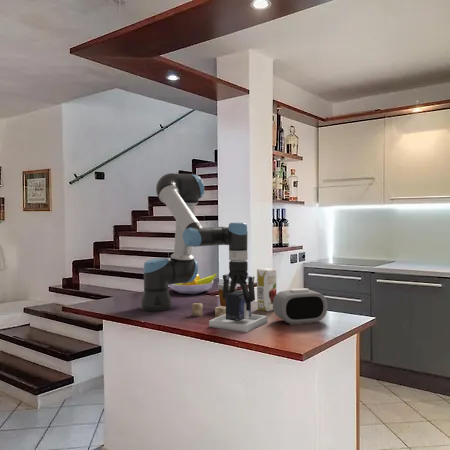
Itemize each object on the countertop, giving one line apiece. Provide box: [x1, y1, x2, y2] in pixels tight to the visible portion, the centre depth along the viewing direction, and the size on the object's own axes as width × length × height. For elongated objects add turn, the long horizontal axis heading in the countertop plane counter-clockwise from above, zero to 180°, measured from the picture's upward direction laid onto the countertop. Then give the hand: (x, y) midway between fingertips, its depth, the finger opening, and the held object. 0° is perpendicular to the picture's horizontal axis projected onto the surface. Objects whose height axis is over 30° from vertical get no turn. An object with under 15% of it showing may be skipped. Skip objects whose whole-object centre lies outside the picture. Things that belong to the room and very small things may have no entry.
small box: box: [226, 289, 252, 321], centre depth 179 cm, size 11×6×10 cm, turn 148°
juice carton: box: [256, 267, 277, 312], centre depth 206 cm, size 8×9×19 cm
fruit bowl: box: [168, 273, 218, 295], centre depth 254 cm, size 28×27×11 cm
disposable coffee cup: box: [217, 282, 238, 306], centre depth 206 cm, size 10×10×12 cm
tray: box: [208, 313, 268, 333], centre depth 179 cm, size 17×18×2 cm
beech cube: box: [214, 305, 226, 318], centre depth 191 cm, size 4×4×4 cm
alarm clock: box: [272, 287, 328, 326], centre depth 182 cm, size 21×10×13 cm, turn 106°
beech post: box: [192, 302, 204, 317], centre depth 196 cm, size 4×4×5 cm
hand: (238, 317), depth 179 cm, fingers closed on small box, 6 cm apart
